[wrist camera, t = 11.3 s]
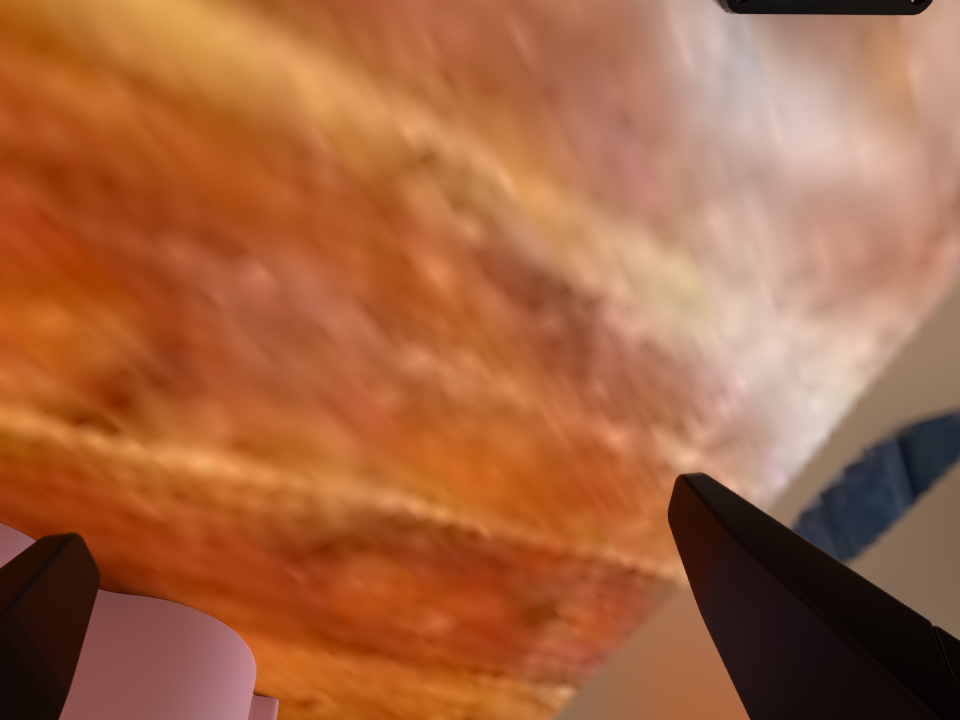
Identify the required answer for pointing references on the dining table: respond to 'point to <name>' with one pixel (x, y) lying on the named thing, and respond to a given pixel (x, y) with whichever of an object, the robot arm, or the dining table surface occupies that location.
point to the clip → (156, 661)
